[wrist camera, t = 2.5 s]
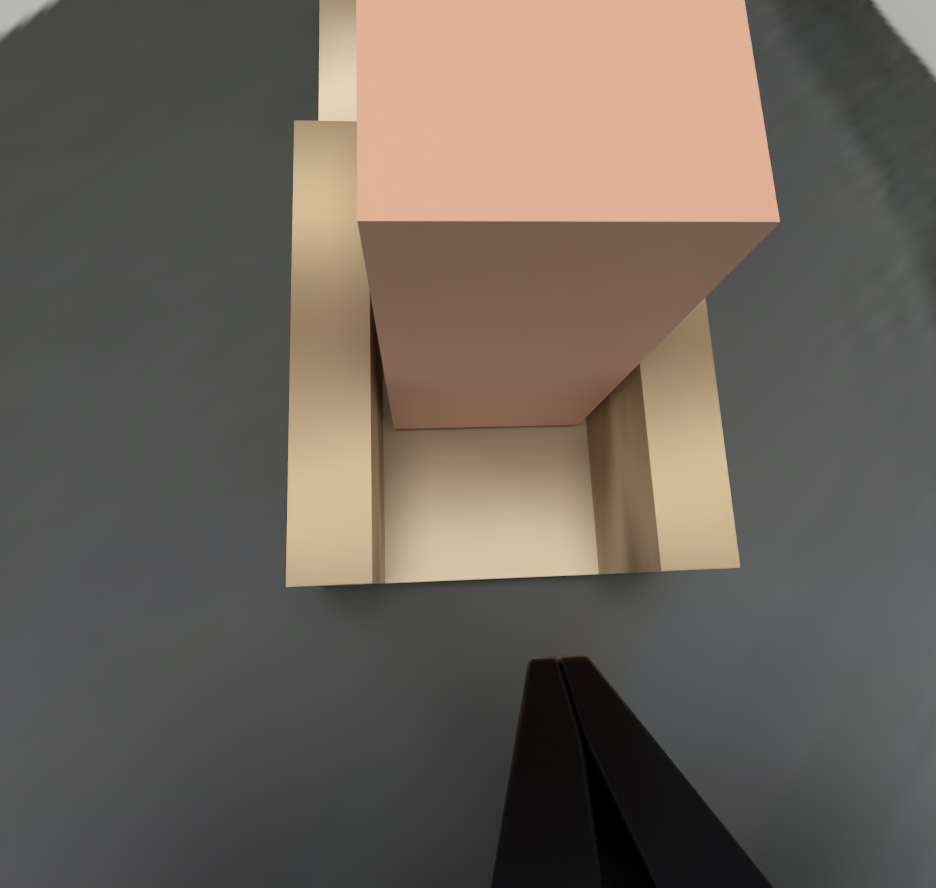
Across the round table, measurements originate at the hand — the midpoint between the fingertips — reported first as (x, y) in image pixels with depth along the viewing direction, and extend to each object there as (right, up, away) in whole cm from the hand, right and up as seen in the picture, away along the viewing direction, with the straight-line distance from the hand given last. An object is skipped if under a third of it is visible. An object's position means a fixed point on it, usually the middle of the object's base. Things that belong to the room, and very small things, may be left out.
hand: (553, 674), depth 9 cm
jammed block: (-1, +7, +9) cm, 11 cm away
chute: (-1, +9, +11) cm, 14 cm away
